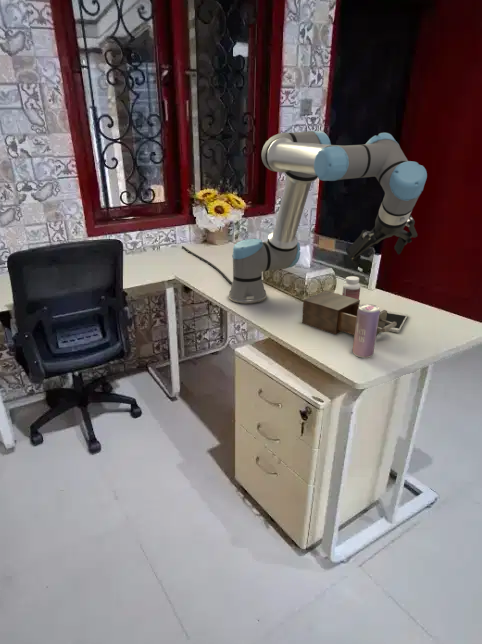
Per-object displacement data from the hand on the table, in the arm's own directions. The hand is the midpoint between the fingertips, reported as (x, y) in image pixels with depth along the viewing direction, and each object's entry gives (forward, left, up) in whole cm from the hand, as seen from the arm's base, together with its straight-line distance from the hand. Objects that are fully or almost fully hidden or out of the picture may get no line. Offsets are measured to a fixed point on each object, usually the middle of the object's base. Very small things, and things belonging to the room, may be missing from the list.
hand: (375, 257), depth 127 cm
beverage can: (+8, -15, -25) cm, 30 cm away
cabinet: (-12, -3, -25) cm, 28 cm away
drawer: (+1, -3, -24) cm, 24 cm away
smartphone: (+3, +12, -25) cm, 28 cm away
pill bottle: (-16, +16, -25) cm, 34 cm away
